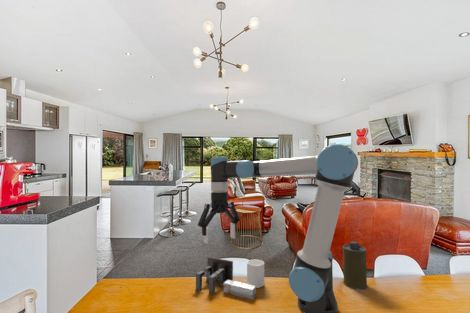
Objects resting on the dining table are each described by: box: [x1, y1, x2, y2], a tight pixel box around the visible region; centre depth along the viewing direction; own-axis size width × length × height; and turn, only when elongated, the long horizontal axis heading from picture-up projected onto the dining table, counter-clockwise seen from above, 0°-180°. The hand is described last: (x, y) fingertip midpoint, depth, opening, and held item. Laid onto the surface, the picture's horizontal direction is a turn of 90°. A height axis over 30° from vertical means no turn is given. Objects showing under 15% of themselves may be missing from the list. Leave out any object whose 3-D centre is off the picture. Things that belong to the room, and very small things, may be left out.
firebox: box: [195, 256, 234, 295], centre depth 114 cm, size 14×14×10 cm
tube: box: [222, 280, 257, 300], centre depth 107 cm, size 14×4×4 cm, turn 64°
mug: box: [246, 258, 265, 289], centre depth 117 cm, size 12×8×10 cm
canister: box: [342, 240, 368, 291], centre depth 117 cm, size 11×10×20 cm
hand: (219, 240), depth 105 cm, fingers open, 13 cm apart
